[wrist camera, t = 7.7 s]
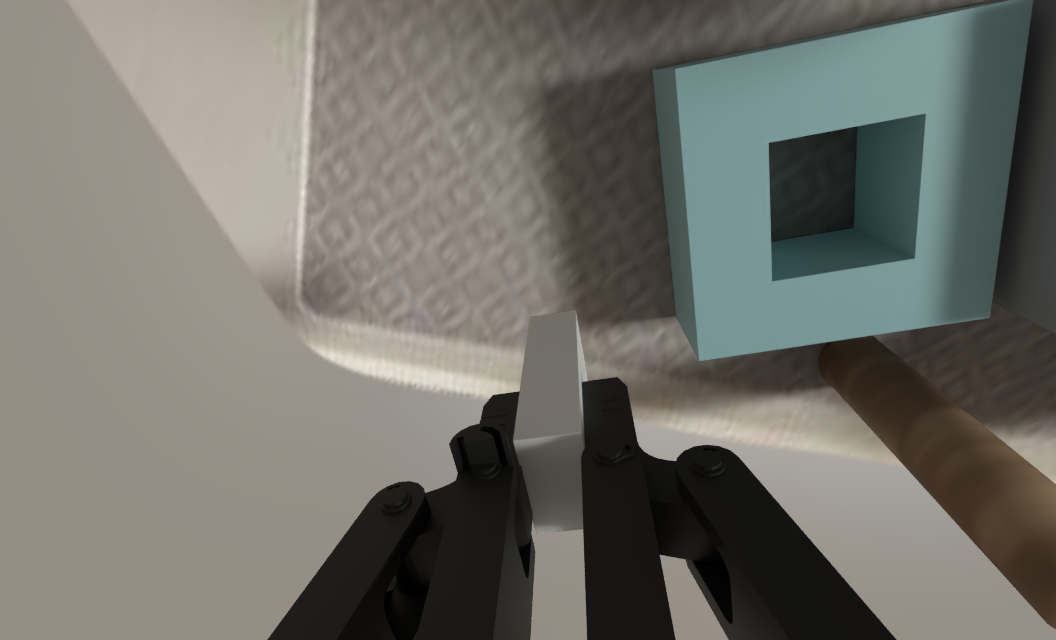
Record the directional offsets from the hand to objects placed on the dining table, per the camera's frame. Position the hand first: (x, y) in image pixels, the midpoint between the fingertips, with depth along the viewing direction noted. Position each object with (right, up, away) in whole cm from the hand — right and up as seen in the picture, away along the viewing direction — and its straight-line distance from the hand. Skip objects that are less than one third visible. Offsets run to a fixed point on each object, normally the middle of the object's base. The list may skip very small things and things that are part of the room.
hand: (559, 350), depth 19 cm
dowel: (+16, -1, +12) cm, 20 cm away
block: (+11, +8, +8) cm, 16 cm away
